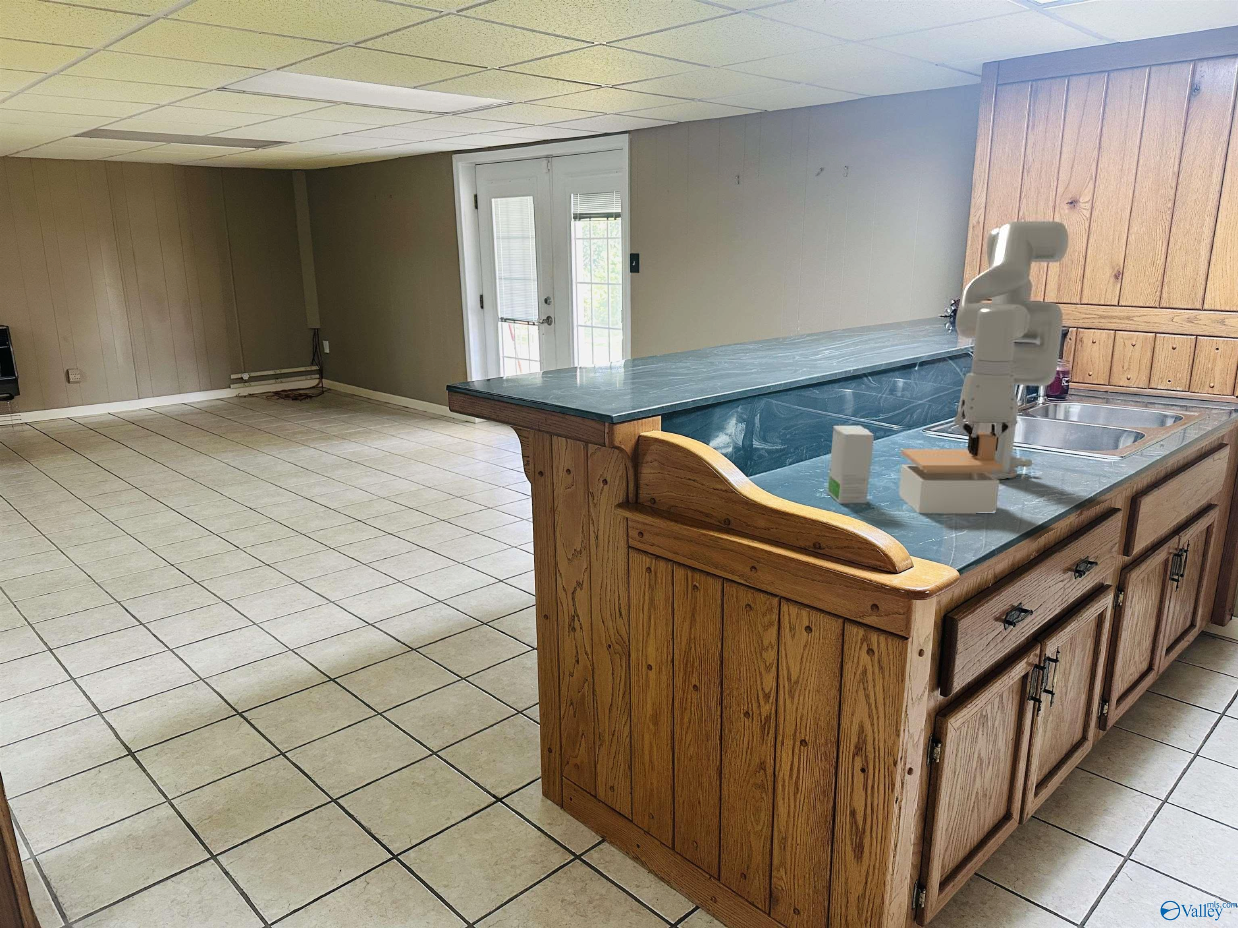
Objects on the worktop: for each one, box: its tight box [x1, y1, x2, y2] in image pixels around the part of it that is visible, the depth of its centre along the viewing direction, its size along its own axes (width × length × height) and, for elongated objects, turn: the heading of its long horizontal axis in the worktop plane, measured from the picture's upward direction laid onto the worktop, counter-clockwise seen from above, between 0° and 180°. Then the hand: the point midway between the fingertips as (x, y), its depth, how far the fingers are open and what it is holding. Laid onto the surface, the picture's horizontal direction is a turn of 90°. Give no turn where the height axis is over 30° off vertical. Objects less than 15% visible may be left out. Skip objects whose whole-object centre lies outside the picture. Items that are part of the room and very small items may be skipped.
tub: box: [898, 464, 1000, 514], centre depth 183 cm, size 16×13×7 cm
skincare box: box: [827, 425, 875, 505], centre depth 186 cm, size 8×7×16 cm
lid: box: [900, 431, 1004, 473], centre depth 181 cm, size 17×14×7 cm
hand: (981, 453), depth 182 cm, fingers closed on lid, 3 cm apart
